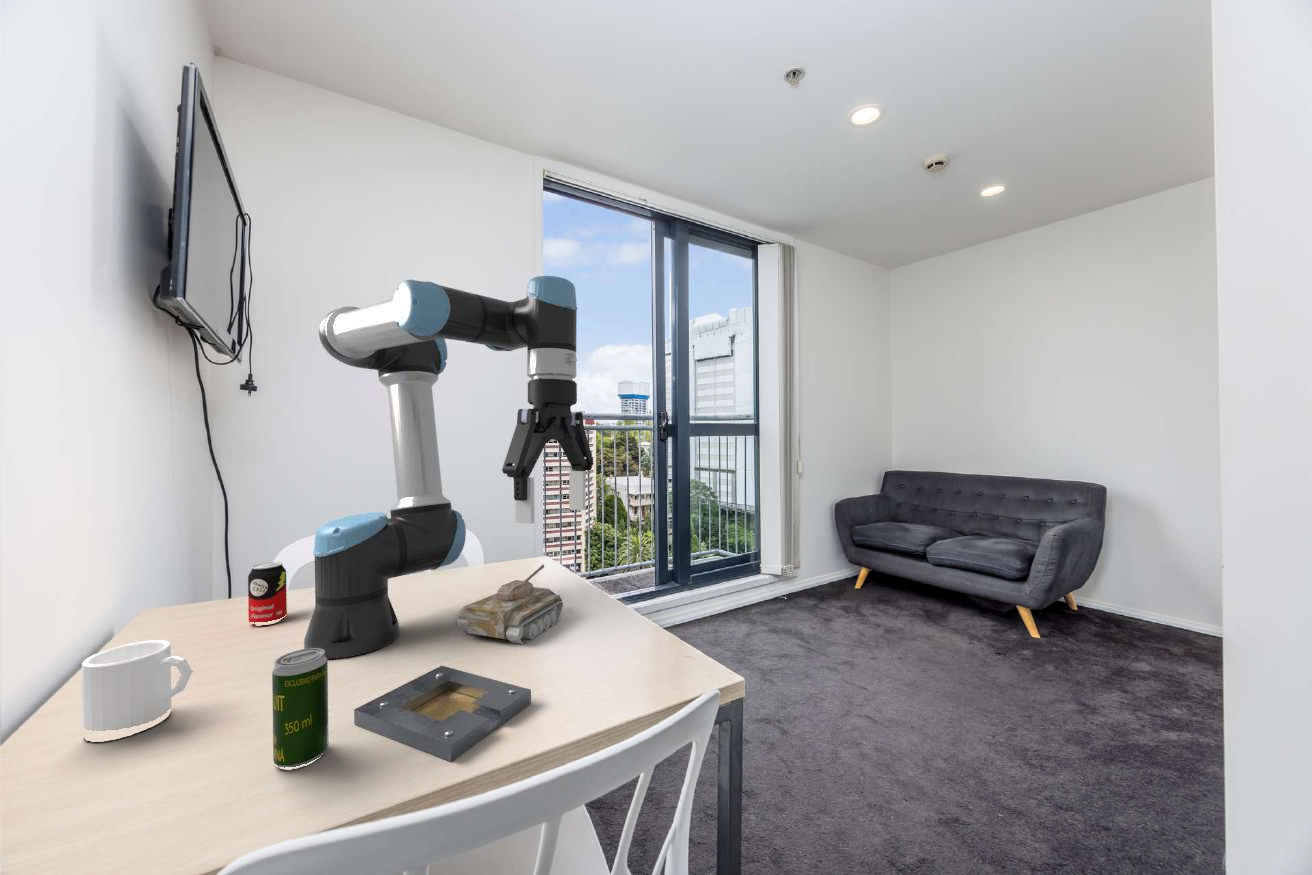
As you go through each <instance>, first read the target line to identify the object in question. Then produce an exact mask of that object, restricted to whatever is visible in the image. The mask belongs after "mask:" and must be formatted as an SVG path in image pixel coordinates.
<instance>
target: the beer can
mask: <svg viewBox="0 0 1312 875" xmlns="http://www.w3.org/2000/svg"><path fill="white" fill-rule="evenodd" d="M328 665H329V664H328V659H327V658H326V656H325V651H324V650H323V649H320V648H309V649H304V648H303V649H298V650H294V651H291V652H288V653H286V654H283V655H281V656H280V657H278V658H276V659H275V661H274V666H273V668H272V671H271V676H272V677H271V678H272V680H271V682H272V683H271V685H272V688H271V689H272V691H271V692H272V741H273V742H272V753H273V754H272V757H273V758H272V759H273V764H274V765H275V764H276V765H277V766H278V767H284V768H285V767H296V766H300V765H302V764H307V763H309V762H311V761H313V760H315V759H317V758H319V757H320V756H322V754H324V755H325V753H326V751H327V748H328V746H329V740H330V739H329V738H330V736H329V683H328V682H329V681H328V680H329V679H328V678H329V677H328V676H329V675H328V673H329V672H328V671H329V670H328ZM324 752H325V753H324ZM322 757H323V756H322ZM276 765H275V766H276Z"/></svg>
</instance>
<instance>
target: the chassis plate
mask: <svg viewBox="0 0 1312 875" xmlns="http://www.w3.org/2000/svg"><path fill="white" fill-rule="evenodd" d="M530 705H532V689H529V688H527V687H523V686H519V685H515V684H512V683H508V682H505V681H501V680H497V679H492V678H490V677H485V676H482V675H477V674H474V673H470V672H468V671H467V672H466V671H463V670H459V669H456V668H452V667H449V666H444V665H440V666H438V667H436V668H433V669H432V670H429V671H427V672H426V673H424V674H422V675H420V676H418V677H416V678H414V679H411V680H409V681H408V682H405V683H404V684H402V685H400V686H398V687H396V688H394V689H391V690H390V691H387V692H386V693H383V695H380V696H378V697H376V698H374V699H373V700H370V701H368V702H366V703H364V704H362V705H360V706H358V707H356V708H355V709H353V716H354V717H353V718H354V720H353V722H354V723H353V724H355V725H354V726H357V727H359V728H362V729H365V730H368V731H370V732H373V733H375V734H378V735H381V736H383V737H386V738H388V739H390V740H394V741H396V742H398V743H401V744H404V745H406V746H408V747H412V748H414V749H416V750H420V751H421V752H424V753H426V754H429V755H432V756H435V757H437V758H440V759H442V760H445V761H447V762H450V763H452V762H453V761H455V760H456V759H457V758H459V757H460V756H461V755H463V754H464V753H466V752H467V751H468V750H470V748H472V747H474V746H475V745H477V744H478V743H480V742H481V741H482V740H483V739H485V738H486V737H488V736H489V735H490V734H492V733H493V732H494V731H496V730H497V729H499V728H500V727H501V726H503V725H504V724H505V723H507V722H508V721H510V720H511V719H512V718H513V717H515V716H517V715H518V714H519V713H520V712H522V711H523V710H525V709H526V708H527V707H529V706H530Z"/></svg>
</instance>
